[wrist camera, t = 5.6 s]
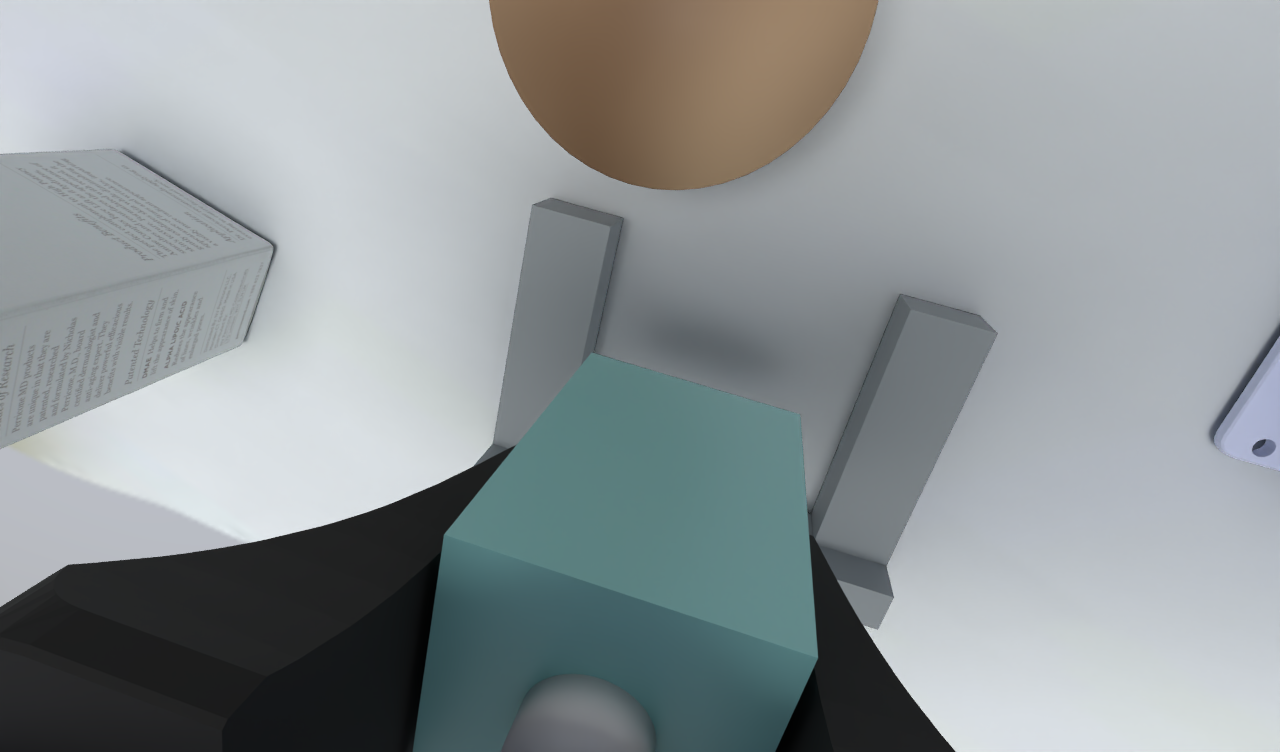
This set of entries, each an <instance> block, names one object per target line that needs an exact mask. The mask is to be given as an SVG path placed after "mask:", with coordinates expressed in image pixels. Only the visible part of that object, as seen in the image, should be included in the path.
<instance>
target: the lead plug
mask: <svg viewBox="0 0 1280 752" xmlns="http://www.w3.org/2000/svg"><path fill="white" fill-rule="evenodd" d="M817 659H818V650H817V637H816V623H815V609H814V596H813V582H812V569H811V555H810V541H809V528H808V514H807V500H806V487H805V473H804V459H803V446H802V432H801V418H800V414H797V413H794V412H790V411H787V410H784V409H780V408H777V407H773V406H770V405H767V404H763V403H760V402H757V401H753V400H750V399H747V398H743V397H740V396H736V395H733V394H730V393H726V392H723V391H720V390H716V389H713V388H710V387H706V386H703V385H699V384H696V383H693V382H689V381H686V380H683V379H679V378H676V377H673V376H669V375H666V374H662V373H659V372H656V371H652V370H649V369H646V368H642V367H639V366H636V365H632V364H629V363H625V362H622V361H619V360H615V359H612V358H609V357H605V356H602V355H599V354H595V353H592V352H591V354H590V355H589V356H588V357H587V359H586V360H585V361H584V362H583V364H582V365H581V366H580V367H579V369H578V370H577V371H576V372H575V373H574V375H573V376H572V377H571V378H570V380H569V381H568V382H567V383H566V385H565V386H564V387H563V388H562V390H561V391H560V392H559V393H558V394H557V396H556V397H555V398H554V399H553V401H552V402H551V403H550V404H549V406H548V407H547V408H546V409H545V411H544V412H543V413H542V414H541V415H540V417H539V418H538V419H537V420H536V422H535V423H534V424H533V425H532V427H531V428H530V429H529V430H528V432H527V433H526V434H525V435H524V436H523V438H522V439H521V440H520V441H519V443H518V444H517V445H516V446H515V448H514V449H513V450H512V451H511V453H510V454H509V455H508V456H507V457H506V459H505V460H504V461H503V462H502V464H501V465H500V466H499V467H498V469H497V470H496V471H495V472H494V474H493V475H492V476H491V477H490V479H489V480H488V481H487V482H486V483H485V485H484V486H483V487H482V488H481V490H480V491H479V492H478V493H477V495H476V496H475V497H474V498H473V500H472V501H471V502H470V503H469V504H468V506H467V507H466V508H465V509H464V511H463V512H462V513H461V514H460V516H459V517H458V518H457V519H456V521H455V522H454V523H453V524H452V525H451V527H450V528H449V529H448V530H447V532H446V533H445V534H444V539H443V545H442V552H441V559H440V566H439V573H438V580H437V587H436V594H435V601H434V607H433V614H432V621H431V628H430V635H429V642H428V649H427V656H426V663H425V670H424V676H423V683H422V690H421V697H420V704H419V711H418V718H417V725H416V732H415V739H414V745H413V752H775V751H776V749H777V747H778V744H779V742H780V740H781V738H782V736H783V734H784V731H785V729H786V727H787V725H788V723H789V720H790V718H791V716H792V714H793V712H794V709H795V707H796V705H797V703H798V701H799V699H800V696H801V694H802V692H803V690H804V688H805V685H806V683H807V681H808V679H809V677H810V675H811V672H812V670H813V668H814V666H815V664H816V661H817Z"/></svg>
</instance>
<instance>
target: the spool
mask: <svg viewBox="0 0 1280 752" xmlns="http://www.w3.org/2000/svg"><path fill="white" fill-rule="evenodd" d="M489 3H490V10H491V16H492V23H493V28H494V32H495V35H496V39H497V43H498V47H499V50H500V53H501V56H502V59H503V61H504V64H505V66H506V69H507V71H508V74H509V76H510V78H511V80H512V82H513V84H514V86H515V88H516V90H517V92H518V94H519V95H520V97H521V99H522V101H523V102H524V104H525V105H526V106H527V108H528V109H529V111H530V112H531V114H532V115H533V117H534V118H535V120H536V121H537V122H538V123H539V124H540V125H541V126H542V128H543V129H544V130H545V131H546V132H547V133H548V134H549V135H550V137H551V138H552V139H554V140H555V141H556V142H557V143H558V144H559V145H560V146H561V147H563V148H564V149H565V150H566V151H567V152H568V153H569V154H571V155H572V156H574V157H575V158H577V159H578V160H580V161H581V162H583V163H584V164H586V165H587V166H588V167H590V168H592V169H594V170H596V171H598V172H600V173H602V174H604V175H606V176H608V177H611V178H614V179H617V180H620V181H623V182H625V183H628V184H631V185H637V186H642V187H647V188H652V189H665V190H685V189H698V188H704V187H709V186H713V185H718V184H722V183H725V182H728V181H731V180H734V179H737V178H739V177H742V176H745V175H747V174H749V173H751V172H753V171H755V170H757V169H759V168H761V167H763V166H765V165H767V164H769V163H770V162H772V161H773V160H774V159H776V158H777V157H779V156H780V155H782V154H783V153H785V152H786V151H788V150H789V149H790V148H791V147H793V146H794V145H795V144H796V143H797V142H798V141H799V140H801V139H802V138H803V137H804V136H805V135H806V134H807V133H808V132H810V131H811V129H812V128H813V127H814V126H815V125H816V124H817V123H818V122H819V120H820V119H821V118H822V117H823V116H824V115H825V114H826V113H827V111H828V110H829V109H830V107H831V106H832V105H833V103H834V102H835V100H836V99H837V97H838V96H839V94H840V93H841V92H842V90H843V89H844V87H845V86H846V84H847V82H848V80H849V78H850V76H851V74H852V73H853V71H854V69H855V67H856V65H857V63H858V61H859V59H860V57H861V54H862V51H863V49H864V46H865V44H866V41H867V39H868V36H869V34H870V31H871V27H872V23H873V20H874V16H875V12H876V8H877V5H878V0H489Z"/></svg>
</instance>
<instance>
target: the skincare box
mask: <svg viewBox="0 0 1280 752" xmlns="http://www.w3.org/2000/svg"><path fill="white" fill-rule="evenodd" d="M272 253H273V246H272V244H270V243H269V242H268V241H266V240H264V239H263V238H261V237H259V236H258V235H256V234H254V233H253V232H251V231H249V230H247V229H246V228H244V227H243V226H241V225H239V224H238V223H236V222H234V221H233V220H231V219H229V218H228V217H226V216H224V215H223V214H221V213H219V212H218V211H216V210H215V209H213V208H211V207H210V206H208V205H206V204H205V203H203V202H201V201H200V200H198V199H196V198H195V197H193V196H192V195H190V194H188V193H187V192H185V191H183V190H182V189H180V188H178V187H177V186H175V185H173V184H172V183H170V182H169V181H167V180H165V179H164V178H162V177H160V176H159V175H157V174H155V173H154V172H152V171H151V170H149V169H147V168H146V167H144V166H142V165H141V164H139V163H137V162H136V161H134V160H132V159H131V158H129V157H127V156H126V155H124V154H122V153H121V152H119V151H117V150H112V149H106V150H83V151H61V152H36V153H11V154H0V449H2V448H4V447H6V446H8V445H11V444H13V443H15V442H18V441H20V440H23V439H25V438H27V437H30V436H32V435H34V434H37V433H39V432H41V431H44V430H46V429H48V428H51V427H53V426H55V425H57V424H60V423H62V422H64V421H66V420H69V419H71V418H73V417H76V416H78V415H80V414H83V413H85V412H87V411H90V410H92V409H94V408H97V407H99V406H101V405H104V404H106V403H108V402H111V401H113V400H115V399H118V398H120V397H123V396H125V395H127V394H130V393H132V392H134V391H137V390H139V389H141V388H144V387H146V386H148V385H151V384H153V383H155V382H157V381H159V380H162V379H164V378H166V377H169V376H171V375H174V374H176V373H178V372H180V371H183V370H185V369H188V368H190V367H192V366H195V365H197V364H199V363H201V362H204V361H206V360H208V359H210V358H213V357H215V356H217V355H220V354H222V353H224V352H227V351H229V350H232V349H234V348H236V347H238V346H240V345H241V344H242V341H243V340H244V338H245V336H246V333H247V330H248V327H249V325H250V323H251V320H252V317H253V314H254V312H255V309H256V305H257V303H258V299H259V296H260V293H261V290H262V288H263V284H264V281H265V278H266V274H267V271H268V268H269V264H270V261H271V257H272Z"/></svg>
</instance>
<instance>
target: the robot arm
mask: <svg viewBox="0 0 1280 752" xmlns="http://www.w3.org/2000/svg"><path fill="white" fill-rule="evenodd" d="M1263 439H1266V441H1265V444H1264V445H1263V446H1262V447H1261V448H1259V449H1256V450H1252V448H1253V445H1254V444H1255V443H1256V442H1257V441H1260V440H1263ZM1214 442H1215V445H1216V446H1217V448H1218V449H1219V450H1220V451H1222V452H1223V453H1224V454H1226V455H1228V456H1230V457H1232V458H1235V459H1238V460H1242V461H1245V462H1249V463H1252V464H1256V465H1259V466H1263V467H1266V468H1270V469H1274V470H1277V471H1280V336H1279V338H1278V339H1277V341H1276V342H1275V344H1274V345H1273V347H1272V348H1271V350H1270V351H1269V353H1268V355H1267V356H1266V358H1265V359H1264V361H1263V362H1262V364H1261V365H1260V367H1259V368H1258V370H1257V371H1256V373H1255V374H1254V376H1253V377H1252V379H1251V380H1250V382H1249V383H1248V385H1247V386H1246V388H1245V389H1244V391H1243V392H1242V394H1241V395H1240V397H1239V398H1238V400H1237V401H1236V403H1235V404H1234V406H1233V407H1232V409H1231V410H1230V412H1229V413H1228V415H1227V416H1226V418H1225V419H1224V421H1223V422H1222V424H1221V425H1220V427H1219V428H1218V430H1217V431H1216V434H1215V436H1214ZM515 446H516V445H515ZM515 446H513V447H511V448H509V449H507V450H505V451H503V452H501V453H499V454H497V455H495V456H493V457H491V458H489V459H487V460H485V461H483V462H481V463H479V464H477V465H475V466H473V467H472V468H470V469H468V470H466V471H464V472H462V473H459V474H457V475H455V476H453V477H451V478H449V479H447V480H445V481H443V482H441V483H439V484H437V485H434V486H432V487H430V488H427V489H425V490H423V491H420V492H418V493H415V494H413V495H411V496H408V497H406V498H404V499H401V500H399V501H397V502H394V503H392V504H389V505H386V506H384V507H381V508H378V509H375V510H372V511H370V512H367V513H364V514H361V515H357V516H354V517H351V518H348V519H345V520H341V521H338V522H335V523H332V524H328V525H324V526H321V527H317V528H312V529H308V530H304V531H300V532H296V533H292V534H287V535H283V536H279V537H275V538H271V539H267V540H262V541H257V542H252V543H247V544H241V545H236V546H230V547H225V548H219V549H212V550H206V551H199V552H192V553H186V554H178V555H170V556H162V557H153V558H141V559H130V560H120V561H109V562H99V563H87V564H72V565H67V566H66V567H64V568H62V569H60V570H59V571H57V572H55V573H54V574H52V575H51V576H49V577H47V578H46V579H44V580H43V581H41V582H39V583H38V584H36V585H35V586H33V587H31V588H30V589H28V590H27V591H25V592H24V593H22V594H21V595H19V596H17V597H16V598H14V599H12V600H11V601H9V602H8V603H6V604H4V605H3V606H1V607H0V752H413V745H414V739H415V732H416V725H417V718H418V711H419V704H420V697H421V690H422V683H423V676H424V670H425V663H426V656H427V649H428V642H429V635H430V628H431V621H432V614H433V607H434V601H435V594H436V587H437V580H438V573H439V566H440V559H441V552H442V545H443V539H444V534H445V533H446V532H447V530H448V529H449V528H450V527H451V525H452V524H453V523H454V522H455V521H456V519H457V518H458V517H459V516H460V514H461V513H462V512H463V511H464V509H465V508H466V507H467V506H468V504H469V503H470V502H471V501H472V500H473V498H474V497H475V496H476V495H477V493H478V492H479V491H480V490H481V488H482V487H483V486H484V485H485V483H486V482H487V481H488V480H489V479H490V477H491V476H492V475H493V474H494V472H495V471H496V470H497V469H498V467H499V466H500V465H501V464H502V462H503V461H504V460H505V459H506V457H507V456H508V455H509V454H510V453H511V451H512V450H513V449H514V448H515ZM809 541H810V555H811V569H812V582H813V596H814V609H815V623H816V637H817V650H818V659H817V661H816V664H815V666H814V668H813V670H812V672H811V675H810V677H809V679H808V681H807V683H806V685H805V688H804V690H803V692H802V694H801V696H800V699H799V701H798V703H797V705H796V707H795V709H794V712H793V714H792V716H791V718H790V720H789V723H788V725H787V727H786V729H785V731H784V734H783V736H782V738H781V740H780V742H779V744H778V747H777V749H776V751H775V752H955V750H954V749H953V748H952V747H951V746H950V745H949V743H948V742H947V741H946V740H945V739H944V737H943V736H942V735H941V734H940V733H939V731H938V730H937V729H936V728H935V726H934V725H933V724H932V722H931V721H930V720H929V719H928V717H927V716H926V715H925V714H924V712H923V711H922V710H921V708H920V707H919V706H918V705H917V703H916V702H915V701H914V700H913V698H912V697H911V696H910V694H909V693H908V692H907V690H906V689H905V688H904V686H903V685H902V683H901V682H900V681H899V679H898V678H897V676H896V675H895V673H894V672H893V670H892V669H891V668H890V666H889V665H888V663H887V662H886V660H885V659H884V657H883V656H882V654H881V653H880V651H879V650H878V648H877V647H876V645H875V644H874V642H873V640H872V639H871V637H870V636H869V634H868V632H867V631H866V629H865V628H864V626H863V624H862V623H861V621H860V619H859V618H858V616H857V614H856V613H855V611H854V609H853V608H852V606H851V604H850V602H849V601H848V599H847V597H846V595H845V594H844V592H843V590H842V588H841V586H840V584H839V583H838V581H837V579H836V577H835V575H834V573H833V572H832V570H831V568H830V566H829V564H828V562H827V560H826V558H825V556H824V555H823V553H822V551H821V549H820V547H819V545H818V543H817V542H816V540H815V538H814V536H812V535H809Z"/></svg>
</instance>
